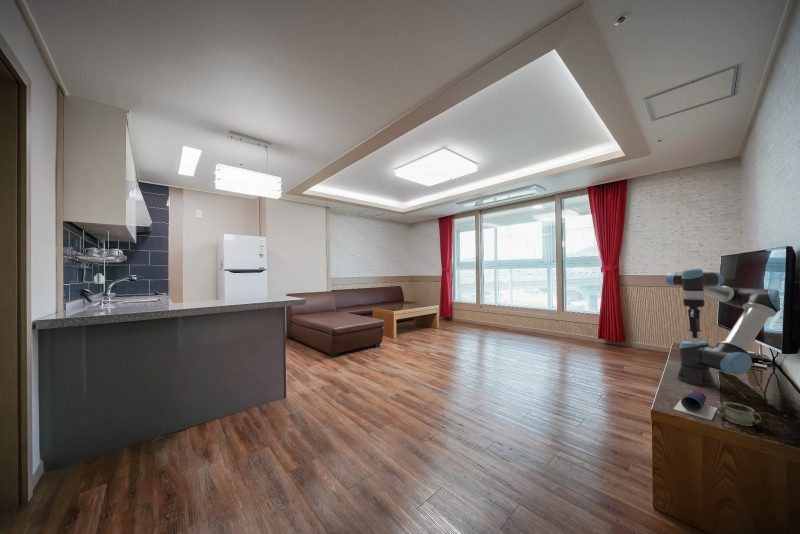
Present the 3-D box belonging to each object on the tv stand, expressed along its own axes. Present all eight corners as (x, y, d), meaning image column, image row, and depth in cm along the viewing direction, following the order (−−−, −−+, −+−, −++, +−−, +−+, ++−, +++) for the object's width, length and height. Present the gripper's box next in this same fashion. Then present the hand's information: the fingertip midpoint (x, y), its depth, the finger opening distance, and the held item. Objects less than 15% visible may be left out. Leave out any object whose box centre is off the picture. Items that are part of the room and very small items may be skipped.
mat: (681, 399, 139) (681, 398, 139) (717, 408, 129) (717, 408, 129) (673, 409, 130) (673, 408, 130) (711, 420, 120) (711, 419, 120)
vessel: (720, 421, 120) (719, 406, 120) (716, 412, 126) (715, 399, 126) (765, 431, 112) (764, 415, 112) (758, 421, 118) (757, 406, 118)
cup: (686, 388, 139) (678, 396, 131) (704, 388, 134) (697, 396, 125) (692, 403, 137) (684, 411, 129) (711, 404, 132) (705, 413, 123)
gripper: (686, 297, 152) (688, 340, 151) (680, 299, 144) (682, 344, 144) (706, 298, 145) (708, 343, 145) (701, 300, 138) (704, 347, 138)
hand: (695, 343), depth 144 cm, fingers closed
